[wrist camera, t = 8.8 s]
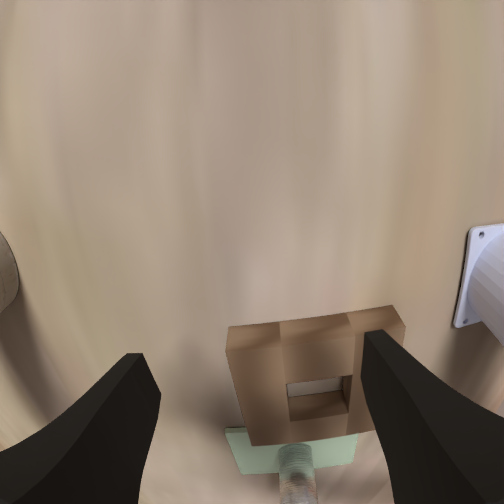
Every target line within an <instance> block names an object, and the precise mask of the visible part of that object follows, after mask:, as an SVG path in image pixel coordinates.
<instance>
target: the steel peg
mask: <svg viewBox="0 0 504 504" xmlns="http://www.w3.org/2000/svg"><path fill="white" fill-rule="evenodd" d="M278 460H279V486H280V504H318V499H317V490H316V481H315V473H314V464H313V456H312V448H311V446H310V445H308V444H305V443H291V444H287V445H284V446H282V447H281V448H280V449H279V450H278Z"/></svg>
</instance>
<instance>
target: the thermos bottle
mask: <svg viewBox="0 0 504 504" xmlns="http://www.w3.org/2000/svg"><path fill="white" fill-rule="evenodd" d="M18 286H19V279H18V271H17V266H16V263H15V259H14V256H13V254H12V252H11V249H10V247H9V245H8V244H7V242H6V240H5V238H4V237H3V236H2V234H1V233H0V313H1V312H2V311H3V310H4V309H5V308H6V307H7V306H8V305H9V304H11V303H12V302H13V300H14V299H15V297H16V295H17V292H18Z"/></svg>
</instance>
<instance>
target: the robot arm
mask: <svg viewBox="0 0 504 504" xmlns="http://www.w3.org/2000/svg"><path fill="white" fill-rule="evenodd" d="M480 232H481V235H480V236H479V234H480ZM481 321H483V323H484V324H485V325H486V326H487V327H488V328H489V330H490V331H491V332H492V333H493V334H494V336H495V337H496V338H497V339H498V340H499V342H500V343H501V344H502V345H503V347H504V223H501V224H493V225H486V226H478V227H473V228H472V229H471V230H470V231H469V234H468V243H467V251H466V258H465V265H464V271H463V277H462V283H461V289H460V294H459V299H458V304H457V308H456V313H455V317H454V321H453V324H454V326H455V327H456V328H460V327H463V326H467V325H470V324H474V323H477V322H481ZM360 378H361V382H362V387H363V391H364V395H365V400H366V404H367V407H368V409H369V412H370V415H371V418H372V421H373V423H374V426H375V429H376V432H377V435H378V438H379V440H380V443H381V446H382V449H383V452H384V455H385V458H386V462H387V465H388V470H389V475H390V480H391V485H392V491H393V497H394V503H395V504H504V418H503V417H501V416H499V415H497V414H495V413H493V412H491V411H489V410H487V409H485V408H483V407H481V406H479V405H478V404H476V403H474V402H473V401H471V400H469V399H468V398H466V397H465V396H463V395H461V394H460V393H458V392H457V391H455V390H454V389H453V388H451V387H450V386H448V385H447V384H446V383H444V382H443V381H442V380H440V379H439V378H438V377H436V376H435V375H434V374H433V373H432V372H430V371H429V370H428V369H427V368H426V367H424V366H423V365H422V364H421V363H420V362H419V361H417V360H416V359H415V358H414V357H413V356H412V355H411V354H409V353H408V352H407V351H406V350H405V349H404V348H403V347H402V346H401V345H400V344H399V343H397V342H396V341H395V340H394V339H393V338H392V337H391V336H390V335H389V334H388V333H387V332H385V331H384V330H383V329H380V330H374V331H369V332H364V345H363V356H362V366H361V375H360ZM160 400H161V392H160V390H159V388H158V386H157V384H156V382H155V380H154V378H153V376H152V373H151V371H150V369H149V367H148V365H147V362H146V360H145V358H144V356H143V353H127V354H126V355H125V356H123V357H122V358H121V359H120V360H119V361H118V362H117V363H116V364H115V365H114V366H113V367H112V368H111V369H110V370H109V371H108V372H107V373H106V374H105V375H104V376H103V377H102V378H101V379H100V380H99V381H97V382H96V383H95V384H94V385H93V386H92V387H91V388H90V389H89V390H88V391H87V392H86V393H85V394H84V395H83V396H82V397H81V398H80V399H78V400H77V401H76V402H75V403H74V404H73V405H72V406H71V407H69V408H68V409H67V410H66V411H65V412H64V413H62V414H61V415H60V416H59V417H57V418H56V419H55V420H54V421H52V422H51V423H49V424H48V425H47V426H45V427H44V428H42V429H41V430H40V431H38V432H36V433H35V434H33V435H31V436H30V437H28V438H26V439H25V440H23V441H21V442H20V443H18V444H16V445H14V446H12V447H10V448H8V449H6V450H3V451H1V452H0V504H138V499H139V491H140V484H141V478H142V474H143V469H144V466H145V462H146V459H147V455H148V451H149V448H150V445H151V441H152V438H153V434H154V431H155V427H156V423H157V420H158V414H159V407H160Z"/></svg>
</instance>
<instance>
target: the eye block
mask: <svg viewBox="0 0 504 504" xmlns="http://www.w3.org/2000/svg"><path fill="white" fill-rule="evenodd" d="M380 329H383V330H384V331H385V332H387V333H388V334H389V335H390V336H391V337H392V338H393V339H394V340H395V341H396V342H397V343H399V344H400V345H401V346H403V341H404V335H405V329H406V326H405V325H404V323H403V321H402V320H401V318H400V316H399V315H398V313H397V311H396V310H395V308H394V307H393V305H389V306H384V307H378V308H372V309H366V310H360V311H354V312H347V313H341V314H334V315H327V316H320V317H312V318H305V319H297V320H289V321H280V322H272V323H263V324H253V325H243V326H232V327H229V328H228V336H227V343H226V351H225V352H226V356H227V360H228V364H229V367H230V371H231V375H232V379H233V382H234V386H235V390H236V393H237V397H238V401H239V404H240V408H241V411H242V415H243V418H244V422H245V425H246V429H247V432H248V435H249V439H250V442H251V445H252V446H268V445H281V444H291V443H300V442H308V441H316V440H323V439H329V438H335V437H341V436H347V435H352V434H357V433H362V432H367V431H372V430H376V429H375V426H374V423H373V421H372V418H371V415H370V412H369V409H368V407H367V404H366V400H365V395H364V391H363V387H362V382H361V378H360V375H361V366H362V356H363V345H364V332H369V331H374V330H380ZM340 376H344V377H343V390H339V391H333V392H326V393H320V394H313V395H305V396H297V397H288V393H287V384H289V383H298V382H306V381H313V380H320V379H327V378H334V377H340Z"/></svg>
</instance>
